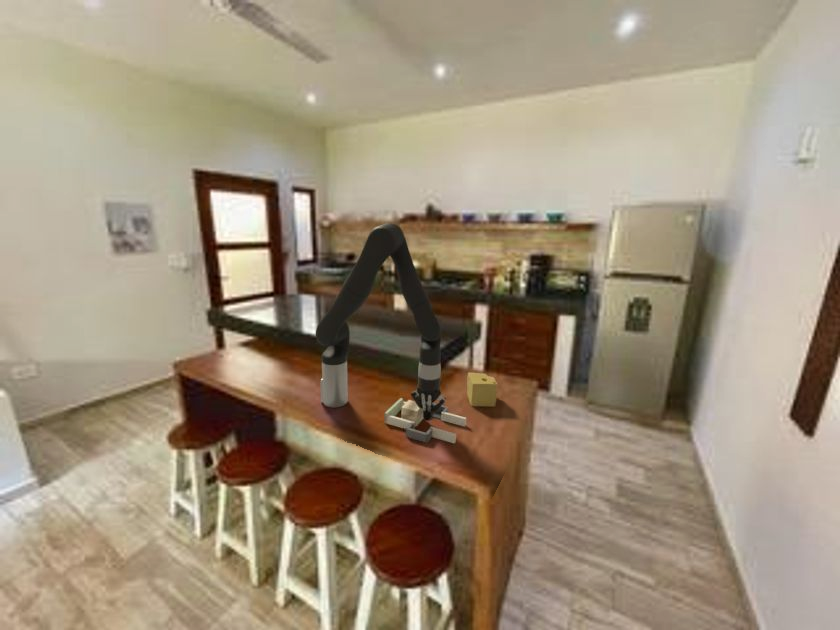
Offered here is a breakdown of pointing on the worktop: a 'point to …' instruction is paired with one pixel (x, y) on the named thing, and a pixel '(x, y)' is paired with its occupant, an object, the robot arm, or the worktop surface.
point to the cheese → (481, 389)
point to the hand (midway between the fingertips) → (427, 419)
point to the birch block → (412, 412)
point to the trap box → (432, 432)
